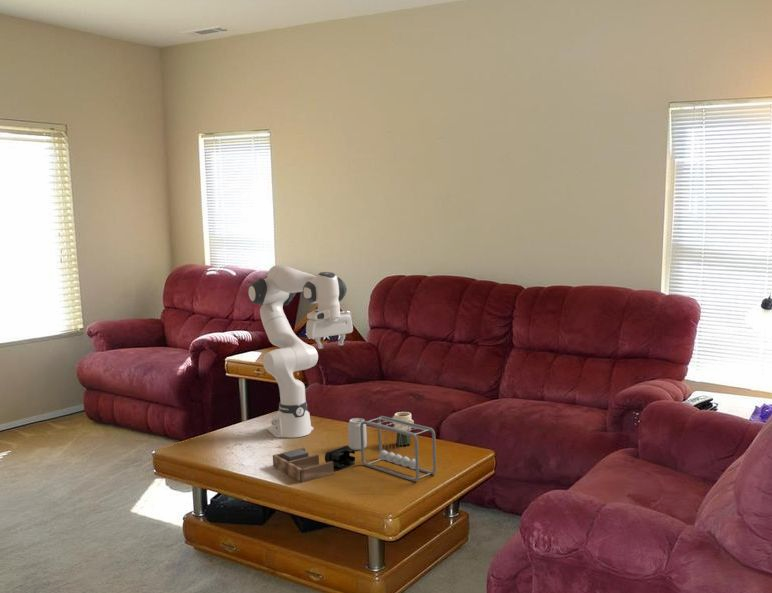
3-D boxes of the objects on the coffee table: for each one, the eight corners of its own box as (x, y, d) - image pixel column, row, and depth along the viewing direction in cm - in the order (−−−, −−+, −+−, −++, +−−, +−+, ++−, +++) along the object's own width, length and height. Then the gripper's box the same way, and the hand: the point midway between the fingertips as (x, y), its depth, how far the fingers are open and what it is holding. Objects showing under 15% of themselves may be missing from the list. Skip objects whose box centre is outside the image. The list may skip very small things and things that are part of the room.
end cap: (343, 460, 296) (342, 443, 295) (356, 464, 291) (355, 447, 290) (324, 467, 289) (324, 450, 288) (337, 471, 284) (336, 454, 283)
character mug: (419, 444, 312) (418, 413, 311) (409, 448, 307) (408, 418, 305) (398, 439, 319) (397, 410, 318) (388, 444, 314) (387, 414, 312)
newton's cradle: (437, 475, 276) (435, 428, 274) (417, 483, 269) (416, 435, 267) (380, 458, 297) (378, 414, 295) (361, 465, 290) (359, 420, 288)
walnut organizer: (273, 466, 292) (272, 455, 291) (304, 458, 300) (303, 447, 299) (301, 482, 273) (301, 470, 273) (333, 473, 281) (333, 462, 281)
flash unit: (283, 467, 291) (282, 453, 290) (302, 462, 296) (301, 448, 295) (290, 471, 286) (290, 457, 286) (310, 466, 291) (309, 452, 290)
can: (364, 451, 306) (363, 422, 305) (347, 450, 308) (345, 422, 306) (368, 445, 314) (367, 417, 312) (351, 444, 315) (350, 417, 314)
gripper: (346, 309, 309) (348, 342, 310) (303, 314, 297) (305, 349, 299) (355, 310, 304) (356, 344, 305) (311, 316, 292) (313, 351, 293)
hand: (330, 346), depth 302 cm, fingers open, 8 cm apart
